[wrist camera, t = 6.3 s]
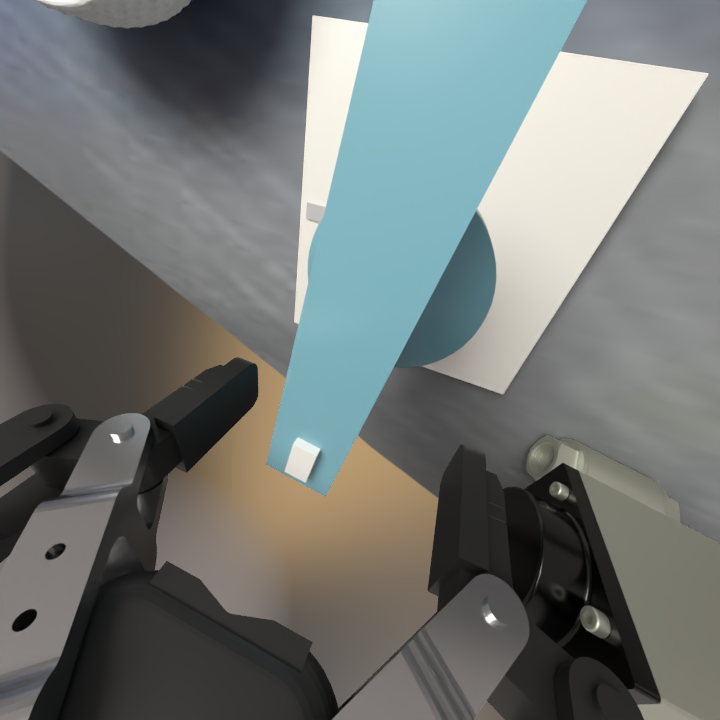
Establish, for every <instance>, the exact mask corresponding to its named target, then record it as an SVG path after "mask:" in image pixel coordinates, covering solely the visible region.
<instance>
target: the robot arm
mask: <svg viewBox="0 0 720 720" xmlns="http://www.w3.org/2000/svg"><path fill="white" fill-rule="evenodd" d="M257 397H258V369H257V365H256V364H254V363H251V362H249V361H246V360H244V359H241V358H238V357H237V358H234V359H233V360H231V361H230V362H228V363H227V364H226V365H224V366H222V365H219V366H216V367H213V368H210V369H207V370H205V371H204V372H202V373H201V374H199V375H198V376H196V377H195V378H194V380H191V381H189V382H188V383H186V384H185V385H184V387H180V388H179V389H178V390H176V391H175V392H173V393H172V394H170V395H169V396H168V397H166V398H165V399H163V400H162V401H160V402H159V403H157V404H156V405H154V406H153V407H151V408H150V409H149V410H147V411H146V412H144V413H142V414H135V413H131V414H122V415H118V416H116V417H113V418H110V419H108V420H106V421H95V420H86V419H77V418H76V416H75V414H74V412H73V411H72V409H71V408H70V407H69V406H67V405H63V404H48V405H42V406H38V407H35V408H32V409H29V410H27V411H24V412H22V413H20V414H19V415H17V416H15V417H13V418H11V419H9V420H7V421H6V422H4V423H2V424H0V486H1V485H3V484H4V483H6V482H7V481H9V480H10V479H12V478H13V477H15V476H16V475H18V474H19V473H20V472H22V471H24V470H25V469H26V468H28V467H29V466H31V468H32V469H33V470H34V471H35V474H34V475H32V476H31V477H30V478H28V479H27V480H25V481H24V482H23V483H21V484H20V485H18V486H17V487H15V488H14V489H13V490H11V491H10V492H8V493H7V494H5V495H4V496H3V497H1V498H0V563H1V562H2V561H3V560H4V559H5V558H7V557H8V556H9V555H10V556H9V557H8V559H7V561H6V563H5V565H4V566H3V568H2V570H1V572H0V720H474V718H475V717H476V715H477V714H478V712H479V711H480V709H481V708H482V706H483V705H484V704H485V702H486V701H488V702H489V703H490V704H491V705H492V706H493V707H494V709H495V710H496V711H497V712H498V713H499V714H500V715H501V716H502V717H503V718H504V719H505V720H644V718H643V716H642V713H641V711H640V709H639V707H638V705H637V703H636V702H635V700H634V698H633V697H632V695H631V694H630V692H629V691H628V689H627V688H626V687H625V685H624V684H623V683H622V682H621V680H620V679H619V678H618V677H617V676H616V675H615V674H614V673H613V672H612V671H611V670H610V669H609V668H607V667H606V666H605V665H603V664H602V663H600V662H599V661H597V660H595V659H592V658H589V657H580V658H577V659H574V658H573V657H572V656H570V655H569V654H568V653H567V652H566V651H565V650H563V649H562V648H561V647H560V646H559V645H558V644H556V643H555V642H554V641H553V640H552V639H551V638H549V637H548V636H547V635H546V634H545V633H544V632H543V631H541V630H540V629H539V628H538V627H537V626H536V625H535V624H534V623H533V622H532V620H531V619H530V618H529V617H528V615H527V614H526V611H525V608H524V606H523V604H522V602H521V600H520V599H519V597H518V596H517V594H516V593H515V591H514V588H513V584H512V577H511V565H510V554H509V543H508V532H507V525H506V522H507V520H506V511H505V498H504V490H503V488H502V486H501V484H500V482H499V480H498V478H497V476H496V475H495V474H493V473H490V472H488V471H486V459H485V454H484V453H483V452H480V451H478V450H475V449H473V448H470V447H467V446H465V445H460V447H459V448H458V450H457V451H456V453H455V455H454V456H453V458H452V460H451V461H450V463H449V465H448V466H447V468H446V470H445V472H444V474H443V477H442V481H441V485H440V492H439V500H438V509H437V518H436V526H435V534H434V542H433V550H432V559H431V567H430V576H429V584H428V591H429V592H431V593H433V594H435V595H437V596H439V597H438V609H437V612H436V613H435V614H434V615H433V616H432V617H431V618H430V619H429V620H428V621H427V622H426V623H425V624H424V625H423V626H422V627H421V628H420V629H419V630H418V631H417V632H416V633H415V634H414V635H413V636H412V637H411V638H410V639H409V640H408V641H407V642H406V643H405V644H404V645H403V646H402V647H401V648H400V649H399V650H397V652H396V653H394V654H393V655H392V656H391V657H390V658H389V659H388V660H387V661H386V662H385V663H384V664H383V665H382V666H381V667H380V668H379V669H378V670H377V671H376V672H375V673H374V674H373V675H372V676H371V677H370V678H368V679H367V681H365V682H364V684H363V685H361V686H360V687H359V688H358V689H357V690H356V691H355V692H354V693H353V694H352V695H351V696H350V697H349V698H348V699H347V700H346V701H345V702H344V703H343V704H342V705H341V706H340V707H339V708H338V705H337V701H336V698H335V695H334V692H333V689H332V686H331V684H330V682H329V680H328V678H327V676H326V674H325V672H324V670H323V669H322V667H321V665H320V664H319V662H318V661H317V660H316V658H315V657H314V656H313V655H312V654H311V652H310V651H309V650H310V647H311V645H312V642H311V641H309V640H308V639H306V638H304V637H302V636H301V635H299V634H297V633H295V632H293V631H292V630H290V629H288V628H286V627H284V626H283V625H281V624H279V623H277V622H275V621H273V620H267V619H260V618H254V617H247V616H241V615H234V614H230V613H228V612H227V611H225V609H224V608H223V607H222V606H221V605H220V604H219V602H218V601H217V600H216V598H214V596H213V595H212V594H211V592H210V591H209V590H208V589H207V588H206V586H205V585H204V584H203V583H202V581H201V580H200V579H198V578H196V577H195V576H193V575H191V574H189V573H187V572H186V571H184V570H182V569H180V568H178V567H177V566H175V565H173V564H171V563H169V562H168V561H166V563H165V564H164V565H163V566H162V568H161V569H160V570H155V566H156V558H157V544H156V534H157V529H158V524H159V520H160V515H161V510H162V506H163V501H164V497H165V492H166V487H167V483H168V474H169V473H170V472H171V471H172V470H173V469H174V468H175V467H176V468H178V469H180V470H182V471H184V472H188V471H189V470H190V469H191V468H192V467H193V466H194V465H195V464H196V463H197V462H198V461H199V460H200V459H201V458H202V457H203V456H204V455H205V454H206V453H207V452H208V451H209V450H210V449H211V448H212V447H213V446H214V445H215V444H216V443H217V442H218V441H219V440H220V439H221V438H222V437H223V436H224V435H225V434H226V433H227V432H228V431H229V430H230V429H231V428H232V427H233V426H234V425H235V424H236V423H237V422H238V421H239V420H240V419H241V418H242V417H243V416H244V415H245V414H246V413H247V412H248V411H249V410H250V409H251V408H252V407H253V405H254V404H255V402H256V400H257Z"/></svg>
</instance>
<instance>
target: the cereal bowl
mask: <svg viewBox="0 0 720 720" xmlns="http://www.w3.org/2000/svg"><path fill="white" fill-rule="evenodd" d="M35 1H37V2H39V3H41V4H42V5H44V6H46V7H47V8H51V9H56V10H58V11H60V12H62V13H63V14H67V15H73V16H75V17H77V18H79V19H81V20H83V21H91V22H93V23H95V24H98V25H108V26H111V27H114V28H115V27H122V28H127V29H129V28H132V27H141V28H142V27H144V26H148V25H155V24H158V23H159V22H161V21H167V20H168V19H169V18H171V17H172V16H175V15H176V14H177V13H180V12H181V10H182V8H184V7H186V6H188V5H189V3H190V2H191V0H35Z"/></svg>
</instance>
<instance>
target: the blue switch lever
mask: <svg viewBox="0 0 720 720" xmlns="http://www.w3.org/2000/svg"><path fill="white" fill-rule="evenodd" d="M586 1H587V0H374V1H373V6H372V10H371V14H370V19H369V23H368V27H367V32H366V36H365V40H364V45H363V49H362V53H361V58H360V62H359V66H358V71H357V75H356V79H355V83H354V88H353V92H352V96H351V101H350V105H349V109H348V114H347V118H346V122H345V127H344V131H343V135H342V140H341V144H340V148H339V153H338V157H337V161H336V166H335V170H334V174H333V178H332V183H331V187H330V191H329V196H328V200H327V204H326V209H325V213H324V216H323V218H322V220H321V221H320V223H319V225H318V227H317V229H316V231H315V234H314V236H313V239H312V242H311V246H310V250H309V256H308V286H307V291H306V295H305V299H304V304H303V308H302V312H301V317H300V321H299V325H298V330H297V334H296V338H295V343H294V347H293V351H292V355H291V360H290V364H289V368H288V373H287V377H286V382H285V386H284V390H283V395H282V399H281V403H280V407H279V412H278V416H277V420H276V425H275V429H274V433H273V438H272V442H271V446H270V450H269V455H268V459H267V465H269V466H270V467H272V468H274V469H276V470H278V471H280V472H281V473H283V474H285V475H287V476H289V477H291V478H293V479H295V480H296V481H298V482H300V483H302V484H304V485H305V486H307V487H309V488H311V489H313V490H315V491H317V492H318V493H320V494H322V495H324V496H326V494H327V493H328V491H329V489H330V487H331V485H332V483H333V481H334V479H335V477H336V475H337V473H338V472H339V470H340V468H341V466H342V464H343V462H344V460H345V458H346V456H347V455H348V453H349V451H350V449H351V447H352V445H353V443H354V441H355V439H356V438H357V436H358V434H359V432H360V430H361V428H362V426H363V424H364V422H365V421H366V419H367V417H368V415H369V413H370V411H371V409H372V407H373V405H374V403H375V402H376V400H377V398H378V396H379V394H380V392H381V390H382V388H383V386H384V384H385V383H386V381H387V379H388V377H389V375H390V373H391V371H392V369H393V367H401V368H405V367H418V366H424V365H427V364H431V363H434V362H437V361H439V360H442V359H444V358H446V357H448V356H450V355H451V354H453V353H455V352H456V351H457V350H459V349H460V348H461V347H463V346H464V345H465V344H466V343H467V342H468V341H469V340H470V339H471V338H472V337H473V336H474V335H475V333H476V332H477V331H478V330H479V328H480V327H481V325H482V323H483V322H484V320H485V318H486V317H487V314H488V312H489V310H490V307H491V305H492V301H493V297H494V293H495V286H496V261H495V255H494V249H493V246H492V242H491V239H490V235H489V232H488V229H487V226H486V223H485V221H484V219H483V217H482V215H481V214H480V212H479V211H478V209H477V208H478V206H479V204H480V202H481V200H482V199H483V197H484V195H485V193H486V191H487V189H488V187H489V185H490V183H491V182H492V180H493V178H494V176H495V174H496V172H497V170H498V168H499V166H500V164H501V163H502V161H503V159H504V157H505V155H506V153H507V151H508V149H509V147H510V145H511V144H512V142H513V140H514V138H515V136H516V134H517V132H518V130H519V128H520V127H521V125H522V123H523V121H524V119H525V117H526V115H527V113H528V111H529V109H530V108H531V106H532V104H533V102H534V100H535V98H536V96H537V94H538V92H539V90H540V89H541V87H542V85H543V83H544V81H545V79H546V77H547V75H548V73H549V71H550V70H551V68H552V66H553V64H554V62H555V60H556V58H557V56H558V54H559V53H560V51H561V49H562V47H563V45H564V43H565V41H566V39H567V37H568V35H569V34H570V32H571V30H572V28H573V26H574V24H575V22H576V20H577V18H578V16H579V15H580V13H581V11H582V9H583V7H584V5H585V3H586Z"/></svg>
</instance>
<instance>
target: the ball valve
mask: <svg viewBox="0 0 720 720" xmlns="http://www.w3.org/2000/svg"><path fill="white" fill-rule="evenodd" d="M526 471H527V472H528V474H529V475H530V476H532V477H533V478H534V479H535V480H536V482H534V483H533V484H531V485H530V486H529V487H527V488H526V489H522V488H519V487H507V488H504V489H503V490H504V498H505V511H506V520H507V522H506V525H507V532H508V543H509V554H510V565H511V577H512V584H513V588H514V591H515V593H516V594H517V596H518V597H519V599H520V600H521V602H522V604H523V606H524V608H525V611H526V614H527V615H528V617H529V618H530V619H531V620H532V622H533V623H534V624H535V625H536V626H537V627H538V628H539V629H540V630H541V631H543V632H544V633H545V634H546V635H547V636H548V637H549V638H551V639H552V640H553V641H554V642H555V643H556V644H558V645H559V646H560V647H561V648H562V649H563V650H565V651H566V652H567V653H568V654H569V655H570V656H572V657H573V658H574V659H577V658H580V657H589V658H592V659H595V660H597V661H599V662H600V663H602V664H603V665H605V666H606V667H607V668H609V669H610V670H611V671H612V672H613V673H614V674H615V675H616V676H617V677H618V678H619V679H620V680H621V682H622V683H623V684H624V685H625V687H626V688H627V689H628V691H629V692H630V694H631V695H632V697H633V698H634V700H635V702H636V703H637V705H638V707H639V709H640V711H641V713H642V716H643V718H644V720H720V543H718V542H716V541H714V540H712V539H710V538H708V537H707V536H705V535H703V534H701V533H699V532H697V531H695V530H693V529H691V528H689V527H687V526H685V525H683V524H681V523H680V509H679V504H678V502H676V501H675V500H673V499H671V498H669V497H668V496H667V494H666V492H665V490H664V489H663V488H662V487H661V486H660V485H659V484H658V483H657V482H655V481H654V480H652V479H650V478H648V477H646V476H644V475H642V474H640V473H638V472H636V471H634V470H632V469H630V468H628V467H626V466H624V465H622V464H620V463H618V462H616V461H614V460H612V459H610V458H608V457H606V456H604V455H602V454H600V453H599V452H597V451H595V450H593V449H591V448H589V447H587V446H585V445H583V444H581V443H579V442H577V441H575V440H573V439H569V438H565V439H560V440H557V439H555V438H553V437H551V436H549V435H546V436H544V437H542V438H541V439H539V440H538V441H537V442H536V443H535V444H534V445H533V446H532V448H531V449H530V451H529V453H528V456H527V461H526Z"/></svg>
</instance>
